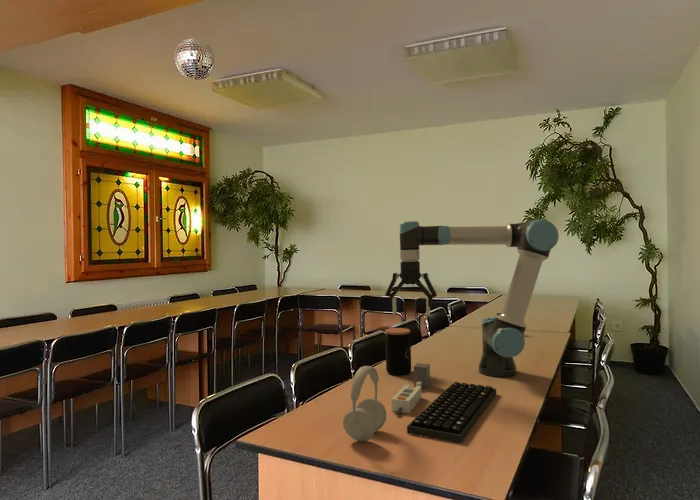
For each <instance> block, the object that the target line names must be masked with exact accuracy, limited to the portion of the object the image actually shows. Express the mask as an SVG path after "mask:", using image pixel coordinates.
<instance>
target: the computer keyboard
mask: <svg viewBox="0 0 700 500" xmlns="http://www.w3.org/2000/svg"><path fill="white" fill-rule="evenodd" d="M496 397H497V388H494V387H493V386H490V385H486V386H485V385H482V384H473V383H470V384H469V383H466V382H462V383H461V382H458V381H455V382H453V383H451V384H450V385H449V386H448V387H447V388H446V389H445V390H444V391H443V392H442V393H441V394H440V395H439V396H438V397H437V398H435V399H434V400H433V401H432V402H431V403H430V404H429V405H428V406H427V407H426V408H424V410H422V412H421V413H419V414H418V415H417V416H416V417H415V418H414V419H413V420H412V421H411V422H409V424H407V426H406V434H409V433H413V434H412V435H414V434H417V435H416V436H419V435H422V436H421V437H424V436H427V437H426V438H430V437H431V439H435V438H437V439H436V440H441V441H447V442H450V443H451V442H452V443H458V444H462V443H463V442H464V441H465V439H466V438H467V436H468V435H467V434H470V432H469V431H471V430H472V429H473V428H474V427H475V425H476V424H477V422H478V421H477V420H479V419H480V418H481V417H480V416H482V415H483V414H484V413H485V411H486V410H487V409H488V408H489V406H490V404H491V403H492V402H493V400H494V398H496ZM474 424H475V425H474ZM472 427H473V428H472ZM471 428H472V429H471Z"/></svg>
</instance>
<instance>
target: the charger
mask: <svg viewBox="0 0 700 500" xmlns="http://www.w3.org/2000/svg"><path fill="white" fill-rule="evenodd" d="M430 385H431V364H430V363H418V362H417V363H416V364H415V365H414V366H413V387H414V388H415V387H416V386H421V389H428V388H429V387H430Z"/></svg>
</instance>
